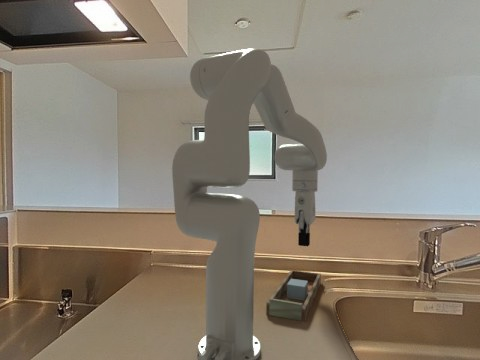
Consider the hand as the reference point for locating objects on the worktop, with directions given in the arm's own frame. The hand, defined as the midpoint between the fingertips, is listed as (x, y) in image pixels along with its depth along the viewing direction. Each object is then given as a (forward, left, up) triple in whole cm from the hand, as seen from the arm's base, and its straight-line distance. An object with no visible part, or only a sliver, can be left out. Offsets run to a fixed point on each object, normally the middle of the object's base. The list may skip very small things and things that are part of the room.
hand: (304, 245), depth 102 cm
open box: (-9, 0, -13) cm, 16 cm away
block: (-8, 0, -13) cm, 15 cm away
